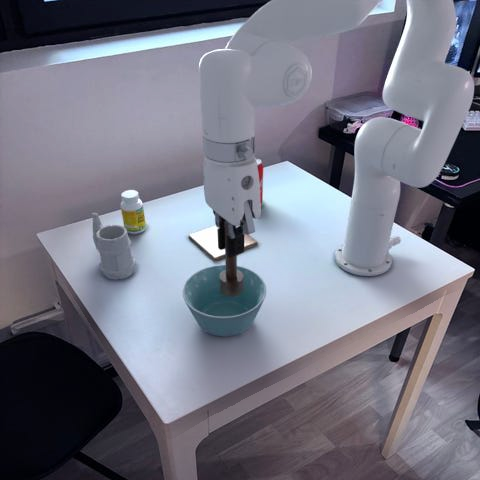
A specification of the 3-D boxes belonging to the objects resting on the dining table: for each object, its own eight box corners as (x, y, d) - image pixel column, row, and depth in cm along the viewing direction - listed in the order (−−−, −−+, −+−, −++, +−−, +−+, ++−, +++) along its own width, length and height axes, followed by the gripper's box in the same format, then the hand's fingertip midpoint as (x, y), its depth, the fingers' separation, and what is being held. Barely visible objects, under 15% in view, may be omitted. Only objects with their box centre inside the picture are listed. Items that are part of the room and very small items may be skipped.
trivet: (229, 223, 126) (229, 220, 126) (257, 244, 119) (257, 241, 118) (188, 237, 121) (188, 234, 121) (214, 260, 114) (214, 258, 113)
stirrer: (235, 278, 93) (233, 212, 84) (248, 291, 90) (248, 224, 81) (215, 287, 91) (211, 220, 82) (228, 299, 89) (226, 232, 79)
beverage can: (266, 202, 134) (268, 159, 126) (254, 212, 130) (255, 168, 122) (246, 196, 137) (247, 154, 129) (234, 205, 133) (234, 162, 125)
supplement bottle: (129, 222, 127) (123, 187, 120) (149, 224, 126) (144, 189, 119) (121, 233, 123) (114, 198, 116) (142, 235, 122) (136, 200, 116)
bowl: (228, 362, 90) (228, 328, 85) (169, 324, 98) (164, 291, 92) (281, 318, 99) (283, 285, 93) (222, 287, 107) (221, 255, 101)
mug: (114, 285, 107) (104, 237, 99) (85, 262, 113) (73, 216, 105) (143, 270, 111) (135, 223, 103) (113, 249, 117) (104, 203, 109)
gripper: (282, 158, 70) (276, 265, 82) (221, 123, 79) (224, 224, 92) (237, 172, 67) (239, 281, 79) (180, 134, 76) (189, 236, 89)
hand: (231, 249), depth 85 cm, fingers closed on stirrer, 2 cm apart
